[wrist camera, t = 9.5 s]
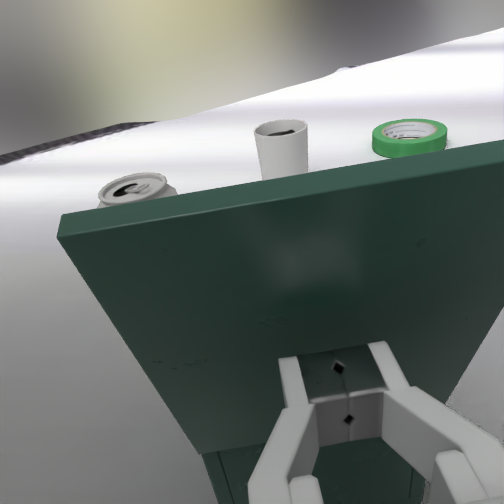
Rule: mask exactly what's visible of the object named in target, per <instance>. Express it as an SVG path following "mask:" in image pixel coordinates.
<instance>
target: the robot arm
mask: <svg viewBox="0 0 504 504" xmlns="http://www.w3.org/2000/svg"><path fill="white" fill-rule="evenodd" d="M278 362H279V369H280V376H281V383H282V390H283V397H284V403H285V409H282V411H281V414H280V416H279V418H278V420H277V422H276V424H275V426H274V428H273V431H272V433H271V435H270V437H269V439H268V441H267V443H266V445H265V448H264V450H263V452H262V454H261V456H260V458H259V460H258V462H257V464H256V467H255V469H254V471H253V473H252V475H251V477H250V479H249V481H248V496H249V504H324V503H323V499H322V495H321V491H320V487H319V482H318V479H317V478H315V477H314V476H312V475H311V474H312V471H313V468H314V465H315V462H316V458H317V455H318V452H319V447H323V446H328V445H333V444H338V443H343V442H348V441H354V440H361V439H368V438H375V437H381V438H382V439H383V440H384V441H385V442H386V443H387V444H388V445H389V446H390V447H391V448H393V449H394V450H395V451H396V452H397V453H398V454H399V455H400V456H401V457H402V458H403V459H404V460H405V461H407V462H408V463H409V464H410V465H411V466H412V467H413V468H414V469H415V470H416V471H417V472H418V473H420V474H421V475H422V476H423V477H424V478H425V479H426V480H427V481H428V482H429V483H430V484H431V485H430V491H429V497H428V502H427V504H504V446H503V444H502V443H501V441H500V440H499V439H497V438H496V437H494V436H492V435H491V434H489V433H488V432H486V431H485V430H483V429H482V428H480V427H478V426H477V425H475V424H474V423H472V422H471V421H469V420H468V419H466V418H465V417H463V416H461V415H460V414H458V413H457V412H455V411H454V410H452V409H451V408H449V407H447V406H446V405H444V404H443V403H441V402H440V401H438V400H437V399H435V398H433V397H432V396H430V395H429V394H427V393H426V392H424V391H423V390H421V389H419V388H418V387H416V386H413V387H410V385H409V384H408V382H407V380H406V378H405V376H404V374H403V372H402V370H401V368H400V366H399V364H398V363H397V361H396V359H395V357H394V355H393V353H392V351H391V349H390V347H389V345H388V343H387V342H385V341H380V342H374V343H369V344H362V345H357V346H351V347H346V348H340V349H335V350H331V351H325V352H318V353H311V354H304V355H297V357H296V356H293V357H286V358H279V359H278Z"/></svg>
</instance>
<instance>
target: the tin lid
mask: <svg viewBox="0 0 504 504" xmlns="http://www.w3.org/2000/svg"><path fill="white" fill-rule="evenodd" d="M57 239H58V241H59V242H60V244H61V245H62V247H63V248H64V250H65V251H66V253H67V254H68V256H69V257H70V259H71V261H72V262H73V264H74V265H75V267H76V268H77V270H78V271H79V273H80V274H81V276H82V277H83V279H84V280H85V282H86V283H87V285H88V286H89V288H90V289H91V291H92V292H93V294H94V296H95V297H96V299H97V300H98V302H99V303H100V305H101V306H102V308H103V309H104V311H105V312H106V314H107V315H108V317H109V318H110V320H111V321H112V323H113V324H114V326H115V327H116V329H117V331H118V332H119V334H120V335H121V337H122V338H123V340H124V341H125V343H126V344H127V346H128V347H129V349H130V350H131V352H132V353H133V355H134V356H135V358H136V359H137V361H138V362H139V364H140V366H141V367H142V369H143V370H144V372H145V373H146V375H147V376H148V378H149V379H150V381H151V382H152V384H153V385H154V387H155V388H156V390H157V391H158V393H159V394H160V396H161V398H162V399H163V401H164V402H165V404H166V405H167V407H168V408H169V410H170V411H171V413H172V414H173V416H174V417H175V419H176V420H177V422H178V423H179V425H180V426H181V428H182V429H183V431H184V433H185V434H186V436H187V437H188V439H189V440H190V442H191V443H192V445H193V446H194V448H195V449H196V451H197V452H198V454H204V453H210V452H216V451H221V450H227V449H233V448H238V447H244V446H250V445H255V444H261V443H267V441H268V439H269V437H270V435H271V433H272V431H273V428H274V426H275V424H276V422H277V420H278V418H279V416H280V414H281V411H282V409H285V403H284V397H283V390H282V383H281V376H280V369H279V362H278V359H279V358H286V357H293V356H296V357H297V355H304V354H311V353H318V352H325V351H331V350H335V349H340V348H346V347H351V346H357V345H362V344H369V343H374V342H380V341H385V342H387V343H388V345H389V347H390V349H391V351H392V353H393V355H394V357H395V359H396V361H397V363H398V364H399V366H400V368H401V370H402V372H403V374H404V376H405V378H406V380H407V382H408V384H409V385H410V387H413V386H416V387H418V388H419V389H421V390H423V391H424V392H426V393H427V394H429V395H430V396H432V397H433V398H435V399H437V400H438V401H440V402H441V403H443V404H444V405H445V403H446V401H447V400H448V398H449V396H450V395H451V393H452V391H453V390H454V388H455V386H456V385H457V383H458V381H459V380H460V378H461V376H462V375H463V373H464V371H465V370H466V368H467V367H468V365H469V363H470V362H471V360H472V358H473V357H474V355H475V353H476V352H477V350H478V348H479V347H480V345H481V343H482V342H483V340H484V338H485V337H486V335H487V333H488V332H489V330H490V328H491V327H492V325H493V323H494V322H495V320H496V318H497V317H498V315H499V313H500V312H501V310H502V308H503V307H504V140H499V141H493V142H487V143H481V144H475V145H469V146H463V147H457V148H451V149H445V150H440V151H434V152H428V153H422V154H416V155H410V156H404V157H398V158H392V159H386V160H381V161H375V162H369V163H363V164H357V165H351V166H345V167H339V168H333V169H328V170H322V171H316V172H310V173H304V174H298V175H292V176H286V177H280V178H274V179H269V180H263V181H257V182H251V183H245V184H239V185H233V186H227V187H221V188H215V189H210V190H204V191H198V192H192V193H186V194H180V195H174V196H168V197H162V198H156V199H151V200H145V201H139V202H133V203H127V204H121V205H115V206H109V207H103V208H98V209H92V210H86V211H80V212H74V213H68V214H63V215H62V216H61V220H60V224H59V229H58V233H57Z"/></svg>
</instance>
